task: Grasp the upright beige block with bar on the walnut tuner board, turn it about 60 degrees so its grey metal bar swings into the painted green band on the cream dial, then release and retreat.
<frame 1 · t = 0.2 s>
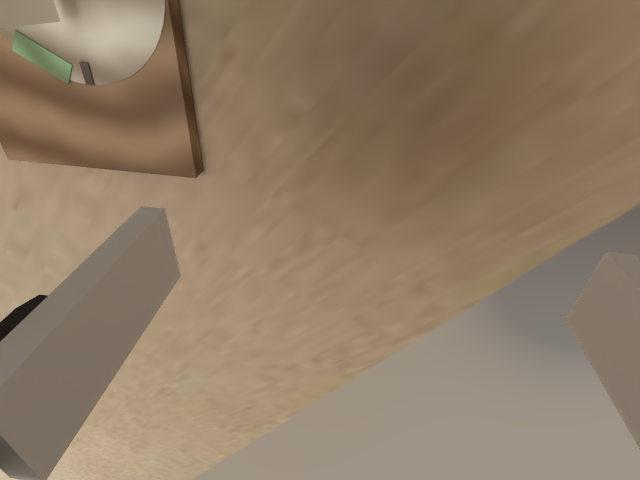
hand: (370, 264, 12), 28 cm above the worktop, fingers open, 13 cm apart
tuner board: (65, 8, 34), on the worktop
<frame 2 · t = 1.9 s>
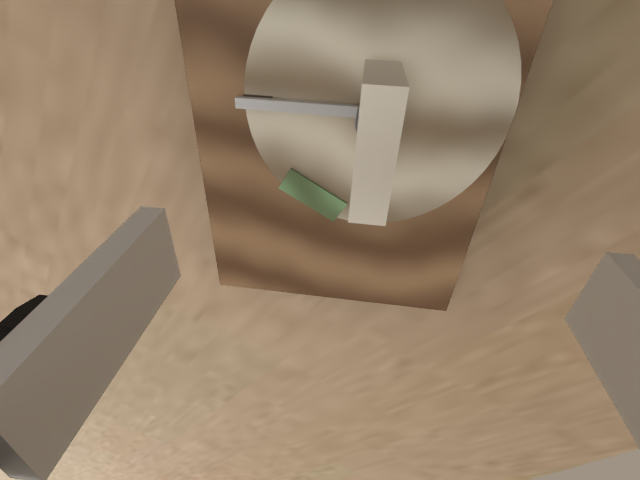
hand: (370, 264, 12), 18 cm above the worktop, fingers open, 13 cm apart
tuner board: (344, 139, 28), on the worktop
beige block with bar: (304, 126, 21), point 7 cm above the worktop, hinge at 0.0°
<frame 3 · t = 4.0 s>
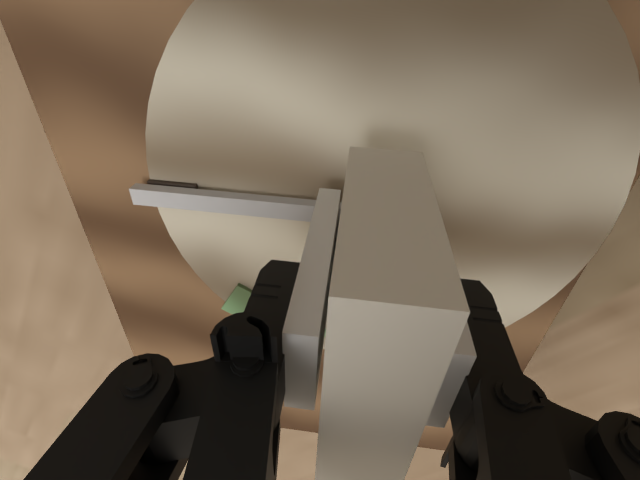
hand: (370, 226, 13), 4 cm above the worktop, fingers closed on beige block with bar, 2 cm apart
tuner board: (323, 235, 18), on the worktop
beige block with bar: (234, 268, 11), point 7 cm above the worktop, hinge at 0.0°, touching gripper
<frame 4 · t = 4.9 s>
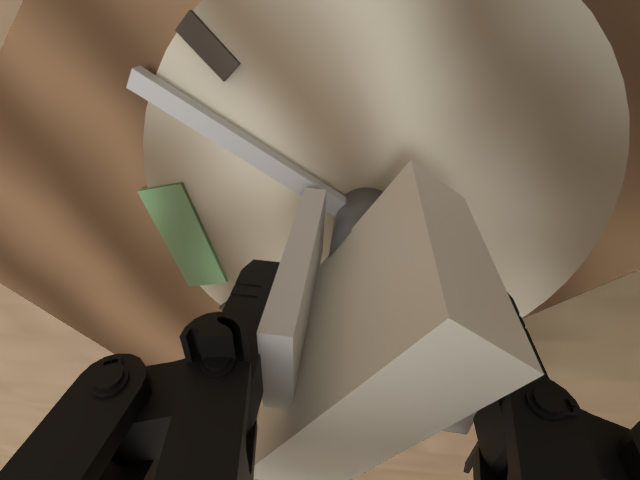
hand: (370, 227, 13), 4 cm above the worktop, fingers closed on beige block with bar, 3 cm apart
tuner board: (288, 196, 17), on the worktop
beige block with bar: (243, 219, 10), point 7 cm above the worktop, hinge at 15.0°, touching gripper
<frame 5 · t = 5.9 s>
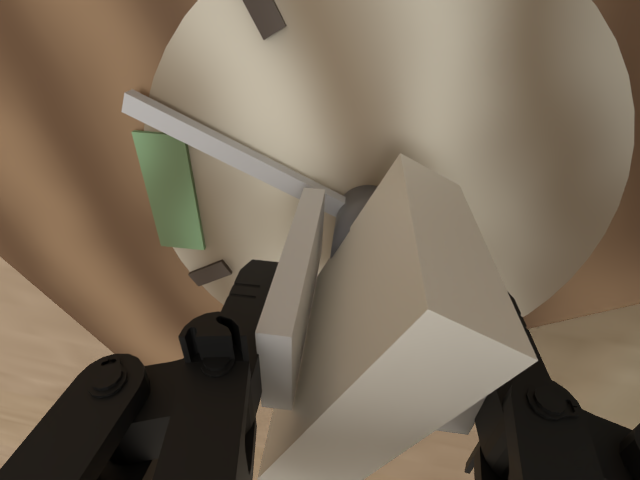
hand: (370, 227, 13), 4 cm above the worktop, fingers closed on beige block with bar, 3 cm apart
tuner board: (287, 175, 16), on the worktop
beige block with bar: (238, 227, 10), point 7 cm above the worktop, hinge at 35.8°, touching gripper
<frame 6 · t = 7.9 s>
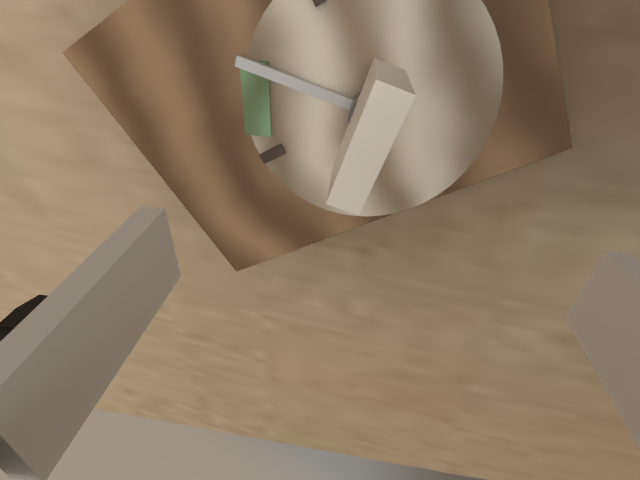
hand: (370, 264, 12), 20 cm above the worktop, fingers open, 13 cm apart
tuner board: (320, 93, 28), on the worktop
beige block with bar: (303, 103, 22), point 7 cm above the worktop, hinge at 43.7°
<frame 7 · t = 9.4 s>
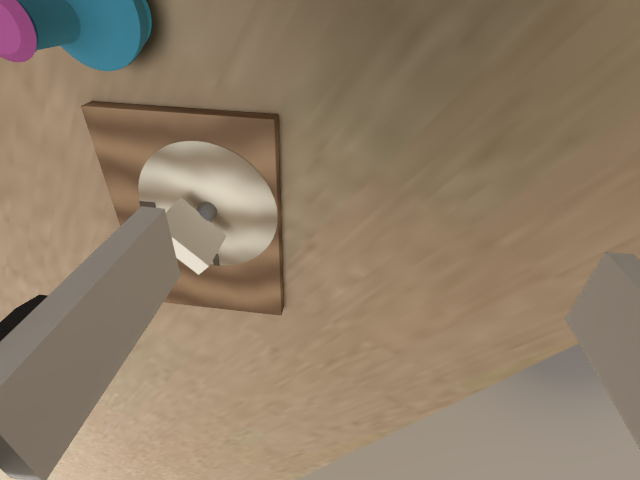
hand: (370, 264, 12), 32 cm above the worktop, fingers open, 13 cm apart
tuner board: (202, 219, 50), on the worktop
beige block with bar: (175, 246, 45), point 7 cm above the worktop, hinge at 45.0°
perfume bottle: (120, 12, 37), on the worktop
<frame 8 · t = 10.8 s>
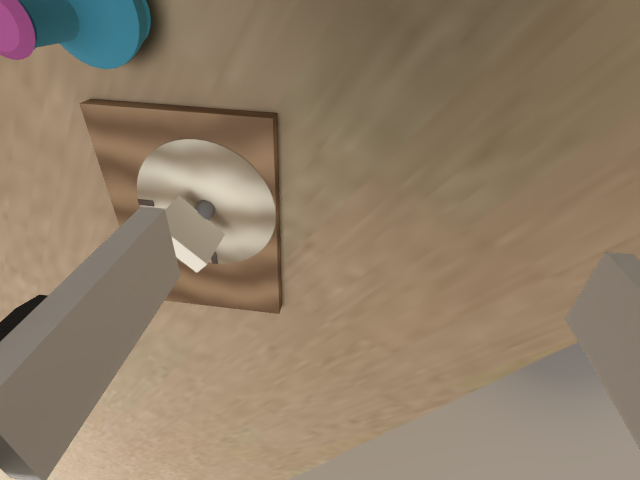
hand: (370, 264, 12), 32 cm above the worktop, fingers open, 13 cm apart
tuner board: (201, 217, 50), on the worktop
beige block with bar: (173, 244, 45), point 7 cm above the worktop, hinge at 45.4°
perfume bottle: (119, 10, 37), on the worktop
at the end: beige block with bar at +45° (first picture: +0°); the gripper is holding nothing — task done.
